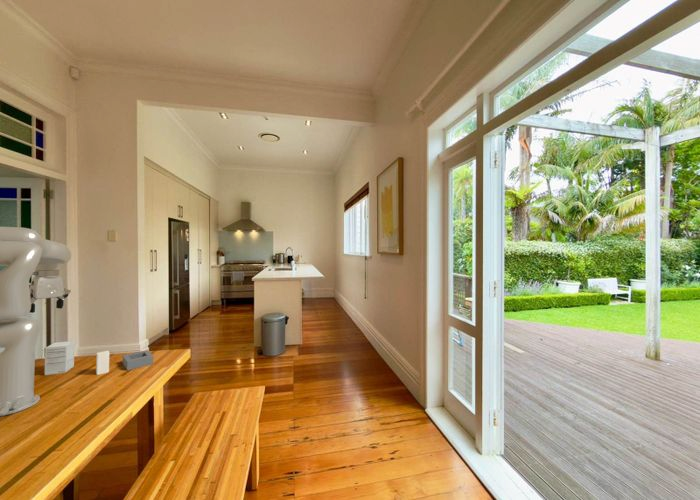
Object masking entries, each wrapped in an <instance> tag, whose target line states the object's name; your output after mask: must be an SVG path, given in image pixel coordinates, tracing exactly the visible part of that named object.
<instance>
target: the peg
mask: <svg viewBox="0 0 700 500" xmlns="http://www.w3.org/2000/svg"><path fill="white" fill-rule="evenodd" d="M95 357H96V359H95V361H96V362H95V363H96V364H95V374H96V375H97V376H99V375H102V374H103V375H104V374H107V373H109V372H110V351H109V350H104V351H98V352H96V356H95Z"/></svg>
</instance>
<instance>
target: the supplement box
mask: <svg viewBox="0 0 700 500" xmlns="http://www.w3.org/2000/svg"><path fill="white" fill-rule="evenodd" d="M75 343H76V342H75V341H74V340H69V341H59V342H54V343H52V344H50V345H48V346H45V348H44V352H45V353H44V376H50V375H58V374H59V375H60V374H65V373H67V372H68V371H70V370H71V369H72V368H74V367H75Z"/></svg>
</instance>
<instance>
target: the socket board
mask: <svg viewBox="0 0 700 500" xmlns="http://www.w3.org/2000/svg"><path fill="white" fill-rule="evenodd" d="M121 363H122V365H123V366H124V368H125V370H127V371H130V370H134V369H135V370H136V369H138V368H139V369H140V368H143V367H146V366H150V365H154V355H153V354H152V353H151V352H150V351H149V350H148V349H146V350H141V351H137V352H131V353H128V354H122V361H121Z"/></svg>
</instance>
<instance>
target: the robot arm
mask: <svg viewBox="0 0 700 500" xmlns="http://www.w3.org/2000/svg"><path fill="white" fill-rule="evenodd" d="M71 257H72V252H71V250H70V249H69V247H68V246H67V245H66V244H64V243H61V242H59V241H54V240H49V239H46V238H43V236H41V235H40V233H38V232H37V231H36V230H34V229H32V228H29V227H28V228H27V227H22V226H21V227H18V226H17V227H16V226H0V267H3V266H4V267H5V268H3V269H1V270H0V348H1V349H2V348H4V350H2V351H1V352H0V417H4V416H9V415H11V414H14V413H15V414H16V413H18V412H21V411H24V410H26V409H28V408H30V407H33V406H34V405H36V404H38V402H39V401H41V400H40V395H38V394H34V393H35V392H34V390H35V370H36V369H35V365H36V364H35V363H36V347H37V341H38V338H39V333H40V329H41V325H40V322H39V320H37V319H34V318H31V317H26V316H28V315H29V313H32V314H33V313H35V312H36V304H35V302H36V301H38V300H43V299H44V300H45V299H52V298H56V299H57V300H56V306H55V308H56V309H63V307H64V301H65V300H66V299H67V297H69V295H70V293H71V291H72V290H71V289H67V288H64V281H63V277H62V276H61V275H60V268H61V267H60V264H67V263H68V262H70V261H71ZM32 276H34V277H32ZM31 277H32V280H31V283H30V279H31Z"/></svg>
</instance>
